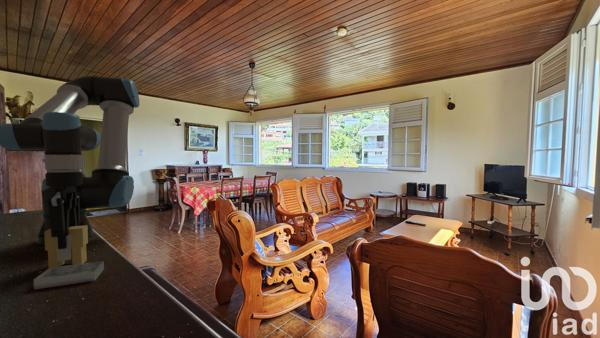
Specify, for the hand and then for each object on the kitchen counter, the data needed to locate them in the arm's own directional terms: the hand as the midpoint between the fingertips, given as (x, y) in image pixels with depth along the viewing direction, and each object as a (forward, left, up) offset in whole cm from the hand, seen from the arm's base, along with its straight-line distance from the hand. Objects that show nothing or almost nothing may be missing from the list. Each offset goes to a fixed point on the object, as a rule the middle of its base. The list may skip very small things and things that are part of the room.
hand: (68, 256), depth 72 cm
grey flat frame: (+11, +4, -2) cm, 12 cm away
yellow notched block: (0, 0, -2) cm, 2 cm away
